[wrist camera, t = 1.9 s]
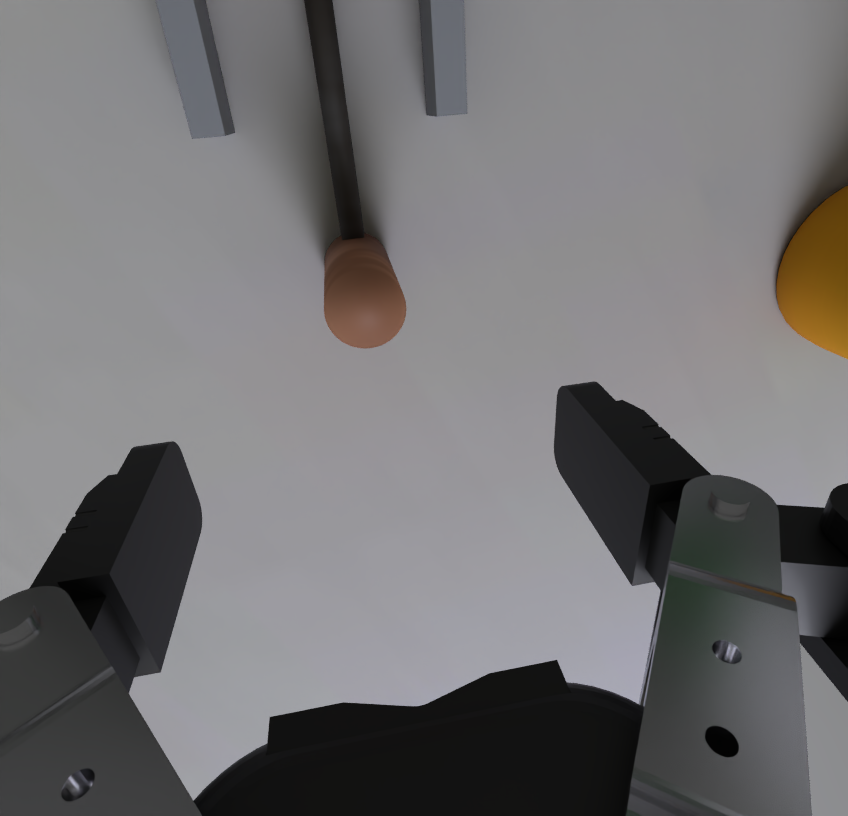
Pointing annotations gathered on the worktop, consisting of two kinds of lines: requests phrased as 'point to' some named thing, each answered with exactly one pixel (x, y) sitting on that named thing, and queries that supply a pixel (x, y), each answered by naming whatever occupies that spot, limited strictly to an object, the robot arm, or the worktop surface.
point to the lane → (205, 83)
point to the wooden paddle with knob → (350, 213)
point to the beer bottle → (818, 276)
